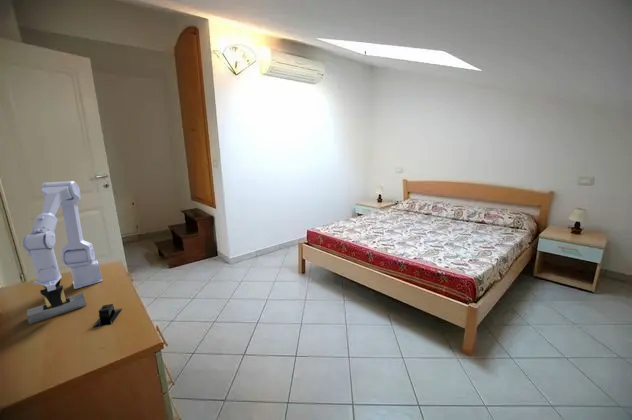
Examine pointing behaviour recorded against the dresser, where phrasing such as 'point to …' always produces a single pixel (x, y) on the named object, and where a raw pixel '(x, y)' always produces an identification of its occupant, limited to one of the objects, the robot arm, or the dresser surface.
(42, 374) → the dresser surface
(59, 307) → the rail
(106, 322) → the black mounted block
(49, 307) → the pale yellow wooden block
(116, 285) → the dresser surface
